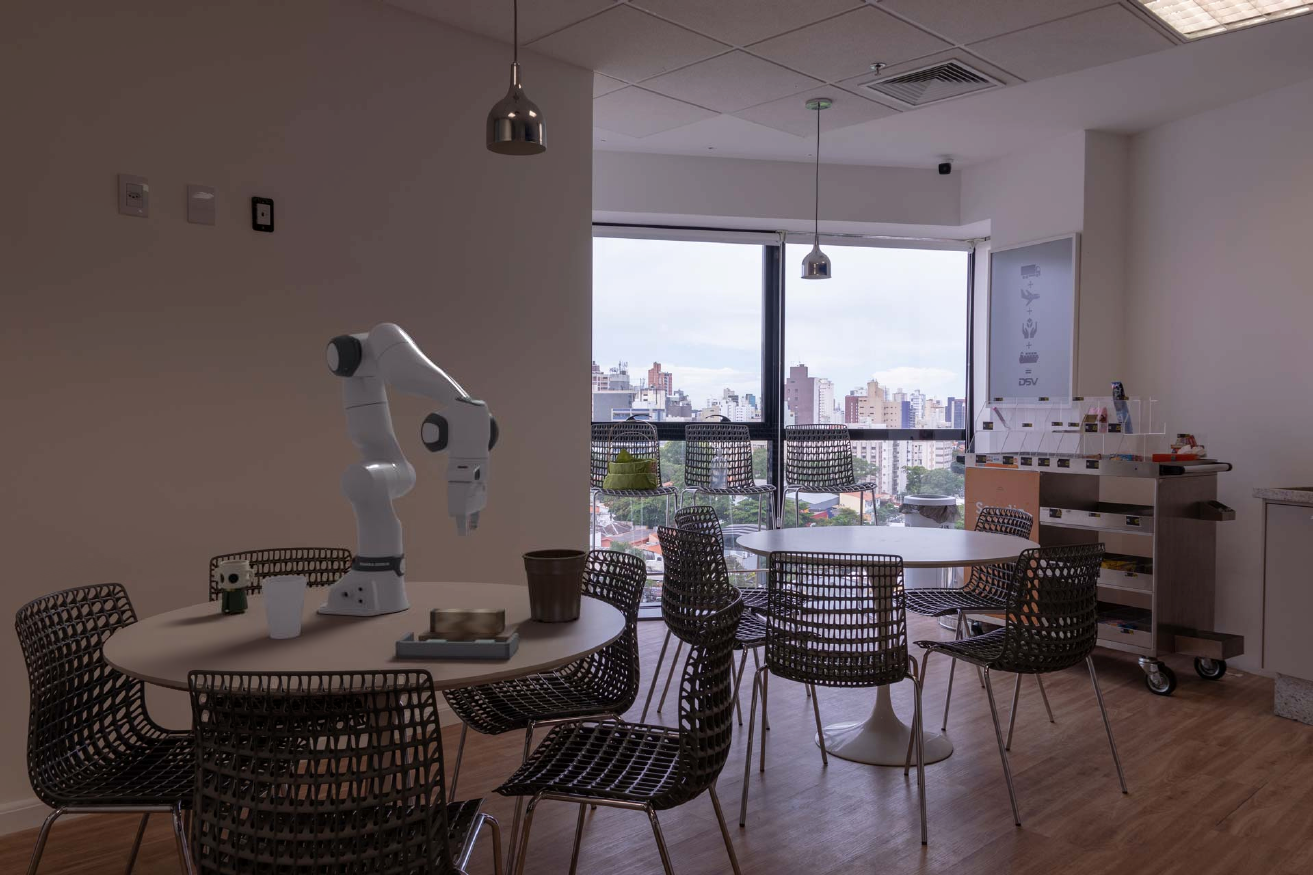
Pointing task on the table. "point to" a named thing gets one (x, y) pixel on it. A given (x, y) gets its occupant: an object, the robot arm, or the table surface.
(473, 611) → the brown wooden block
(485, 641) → the tile
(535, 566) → the plant pot
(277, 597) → the foam cup
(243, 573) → the character mug
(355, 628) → the table surface
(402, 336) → the robot arm
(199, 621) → the table surface
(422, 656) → the tray
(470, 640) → the board
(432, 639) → the tile
